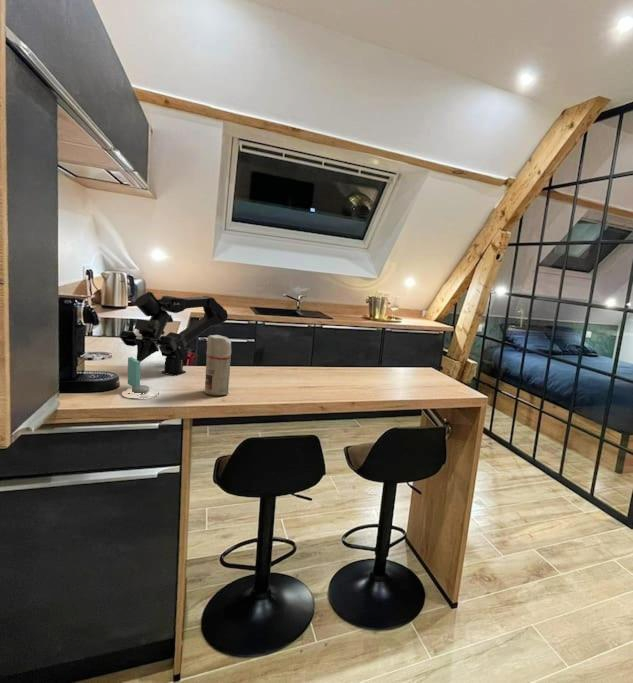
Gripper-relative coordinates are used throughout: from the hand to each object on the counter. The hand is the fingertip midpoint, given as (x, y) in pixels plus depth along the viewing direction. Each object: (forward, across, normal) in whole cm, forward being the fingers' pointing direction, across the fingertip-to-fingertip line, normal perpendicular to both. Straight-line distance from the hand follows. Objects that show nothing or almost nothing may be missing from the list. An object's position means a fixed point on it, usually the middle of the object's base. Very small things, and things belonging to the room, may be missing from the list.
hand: (138, 361), depth 133 cm
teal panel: (+8, +2, +2) cm, 9 cm away
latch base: (+10, +5, +2) cm, 11 cm away
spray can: (+3, +26, +10) cm, 28 cm away
